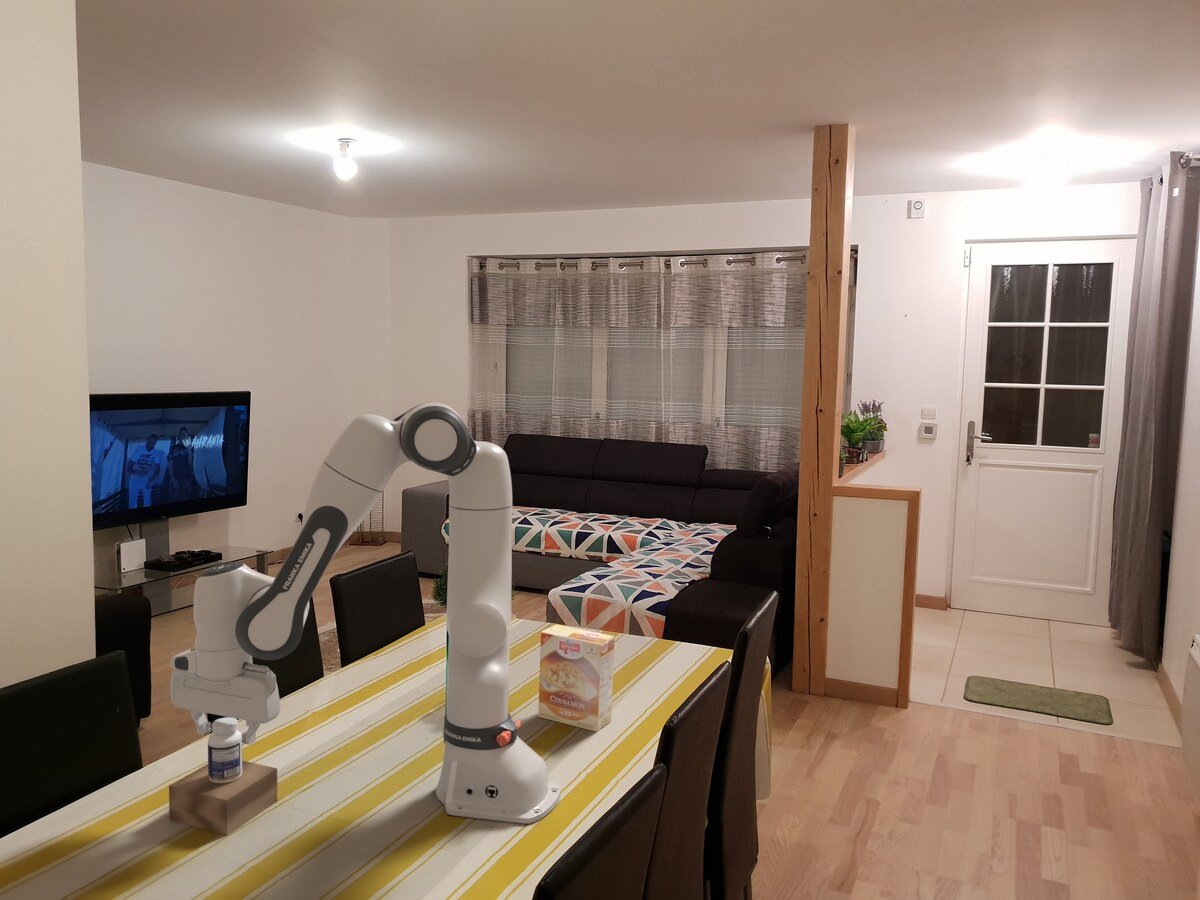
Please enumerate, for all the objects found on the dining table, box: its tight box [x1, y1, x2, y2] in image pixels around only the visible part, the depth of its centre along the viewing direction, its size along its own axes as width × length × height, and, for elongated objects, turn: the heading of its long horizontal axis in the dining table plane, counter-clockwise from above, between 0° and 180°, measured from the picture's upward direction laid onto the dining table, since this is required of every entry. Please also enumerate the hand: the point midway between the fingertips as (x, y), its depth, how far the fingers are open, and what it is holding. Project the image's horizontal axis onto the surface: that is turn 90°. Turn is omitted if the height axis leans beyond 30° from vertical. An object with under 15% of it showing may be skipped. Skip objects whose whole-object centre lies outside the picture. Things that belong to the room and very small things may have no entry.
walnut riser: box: [168, 760, 278, 836], centre depth 150 cm, size 12×12×6 cm
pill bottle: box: [207, 717, 244, 784], centre depth 149 cm, size 5×5×10 cm
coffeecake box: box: [538, 623, 615, 733], centre depth 192 cm, size 15×7×20 cm, turn 63°
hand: (226, 738), depth 149 cm, fingers open, 8 cm apart
